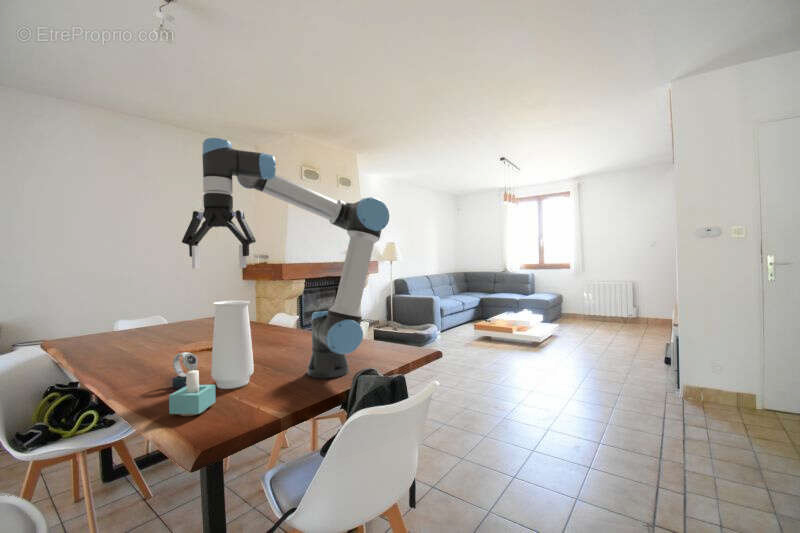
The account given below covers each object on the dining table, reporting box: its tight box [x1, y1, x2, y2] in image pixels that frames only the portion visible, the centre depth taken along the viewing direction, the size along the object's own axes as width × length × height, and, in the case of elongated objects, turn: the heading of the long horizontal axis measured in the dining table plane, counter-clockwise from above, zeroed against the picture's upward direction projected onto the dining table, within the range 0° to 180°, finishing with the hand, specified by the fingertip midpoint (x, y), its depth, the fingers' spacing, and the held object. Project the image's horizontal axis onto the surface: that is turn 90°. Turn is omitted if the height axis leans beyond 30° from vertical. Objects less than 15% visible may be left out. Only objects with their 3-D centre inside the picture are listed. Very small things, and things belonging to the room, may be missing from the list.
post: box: [179, 369, 208, 417], centre depth 97 cm, size 6×6×11 cm
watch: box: [172, 351, 199, 389], centre depth 118 cm, size 6×8×11 cm
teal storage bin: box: [168, 384, 217, 415], centre depth 97 cm, size 8×8×5 cm
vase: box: [211, 299, 255, 390], centre depth 118 cm, size 13×13×28 cm
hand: (219, 268), depth 100 cm, fingers open, 13 cm apart
